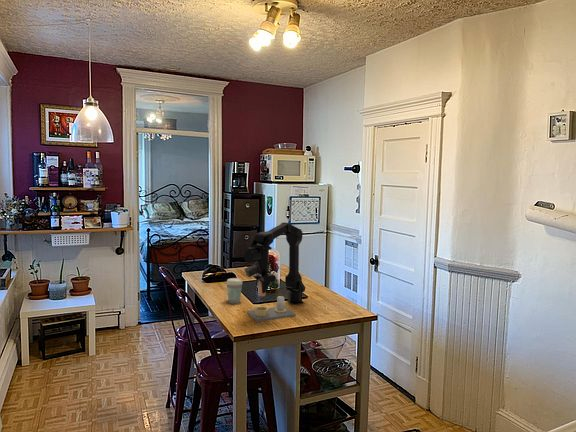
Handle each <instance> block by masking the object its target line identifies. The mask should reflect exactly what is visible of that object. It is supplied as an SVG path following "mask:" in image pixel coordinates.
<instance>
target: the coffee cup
mask: <svg viewBox="0 0 576 432" xmlns="http://www.w3.org/2000/svg"><path fill="white" fill-rule="evenodd" d="M225 284H226V290H227V299H228V303H229V304H232V305H236V304H240V302H241V296H242V290H243V289H242V285H243V280H242V278H238V277H232V278H231V277H230V278H228V279H226V282H225Z"/></svg>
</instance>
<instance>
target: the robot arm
mask: <svg viewBox="0 0 576 432" xmlns="http://www.w3.org/2000/svg"><path fill="white" fill-rule="evenodd" d="M303 233H304V232H303V230H302V229H300V228H299V227H297V226H295V225H293V224H292V223H290V222H281V223H280V224H278V225H277V226H274V227H273V228H271V229H268V230H267V231H261V232H257V233H256V234H255V236H254V238H253V240H252V242H251V244H250V247H247V250H246V251H245V252H244V254H243V259H244V262H246V263H247V264H252V263H254V264H253V265H250V266H248V267H245V268H243V269H244V272H245V276H247V277H248V278H251V277H253V278H254V279H255V280H256V283H257V285H258V279H259V278H261V279H259V281H260V282H261V286H262V293H265V292H266V291H267V289H268V288H269V285H270V284H271V282H276V281H277V276H276V275H275V274H273V273H271V270H269V266H271V262H270V261H269V260H270V259H269V258H270V257H269V256H270V251H271V250H272V249H273V248H272V247H271V246H270V245H271V244H273V242H274V240H275V239H277V238H278V237H280V236H282V235H283V234H284V235H285V239H286V242H287V244H288V246H289V248H288V249H289V251H288V252H289V253H288V257H289V258H288V259H289V260H288V265H289V266H288V268H289V269H288V274H287V275H285V277H284V279H285V280H284V281H285V282H284V284H285V288H286V290H287V291H289V292H288V293H287V294H288V299H287V302H288V303H290V304H292V305H296V304H297V305H298V304H304V301H303V293H305V291H306V286H305V284H304V283H303V279H302V276H301V274H300V272H299V270H300V269H299V268H300V267H299V266H300V264H299V263H300V260H299V259H300V244H301V243H302V240H303ZM266 293H267V292H266Z"/></svg>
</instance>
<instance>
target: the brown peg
mask: <svg viewBox="0 0 576 432" xmlns="http://www.w3.org/2000/svg"><path fill="white" fill-rule="evenodd" d="M259 279H261V278H259ZM259 279H258V284H257V290H258V291H257V295H258V296H259V297H266V293H267V292H265V293H262V286H261V282H260V281H259Z"/></svg>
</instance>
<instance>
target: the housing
mask: <svg viewBox="0 0 576 432" xmlns="http://www.w3.org/2000/svg"><path fill="white" fill-rule="evenodd" d="M276 303H277V304H276V306H273V307H268V306H262V305H261V306H260V305H259V306H256V307H254V309H251V310H246V314H248V315H249V317H251V318H252V319H253V320H255V322H257V323H258V322H263V321H271V320H275V319H276V320H277V319H284V318H289V317H296V315H297V314H296V313H295V312H293V310H291V309H289V308H288V307H286V306H285V296H282V295H281V296H280V295H279V296H277V297H276Z"/></svg>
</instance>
